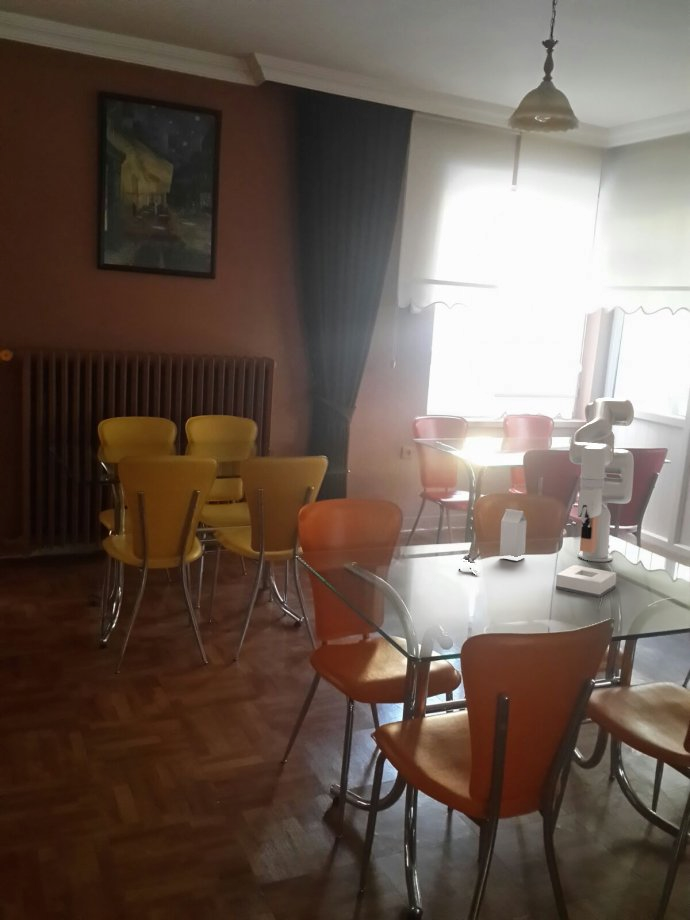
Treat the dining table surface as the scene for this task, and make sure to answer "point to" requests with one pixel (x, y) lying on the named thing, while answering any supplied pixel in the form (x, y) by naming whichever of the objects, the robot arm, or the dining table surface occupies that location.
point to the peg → (590, 544)
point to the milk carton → (513, 533)
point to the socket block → (586, 580)
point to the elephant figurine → (470, 559)
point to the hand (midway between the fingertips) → (588, 536)
